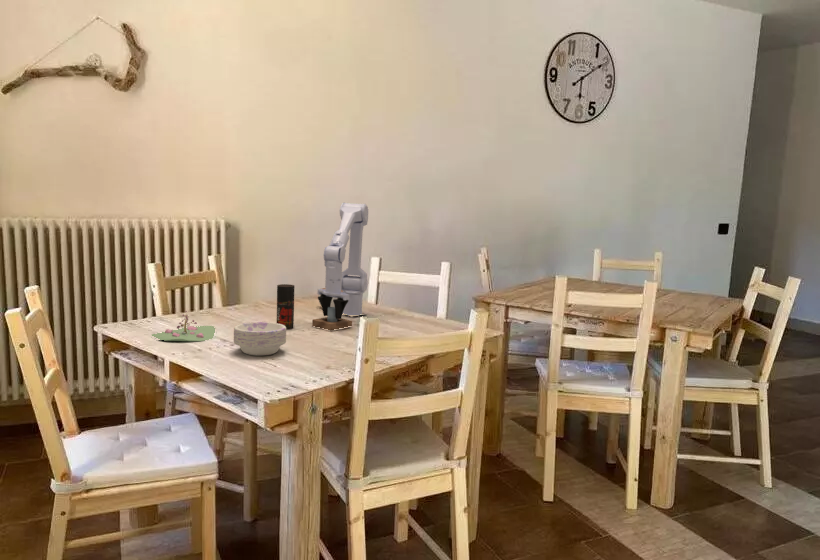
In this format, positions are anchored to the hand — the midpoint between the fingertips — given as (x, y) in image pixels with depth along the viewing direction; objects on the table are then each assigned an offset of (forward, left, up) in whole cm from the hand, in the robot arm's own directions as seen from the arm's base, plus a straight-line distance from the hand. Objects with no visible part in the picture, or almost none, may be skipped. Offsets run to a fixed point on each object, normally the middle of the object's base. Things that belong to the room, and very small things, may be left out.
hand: (332, 317), depth 226 cm
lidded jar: (-26, +23, -4) cm, 35 cm away
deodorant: (-9, -14, -4) cm, 17 cm away
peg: (0, 0, -4) cm, 4 cm away
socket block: (0, 0, -4) cm, 4 cm away
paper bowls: (+12, -40, -4) cm, 42 cm away
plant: (-21, -44, -4) cm, 49 cm away
